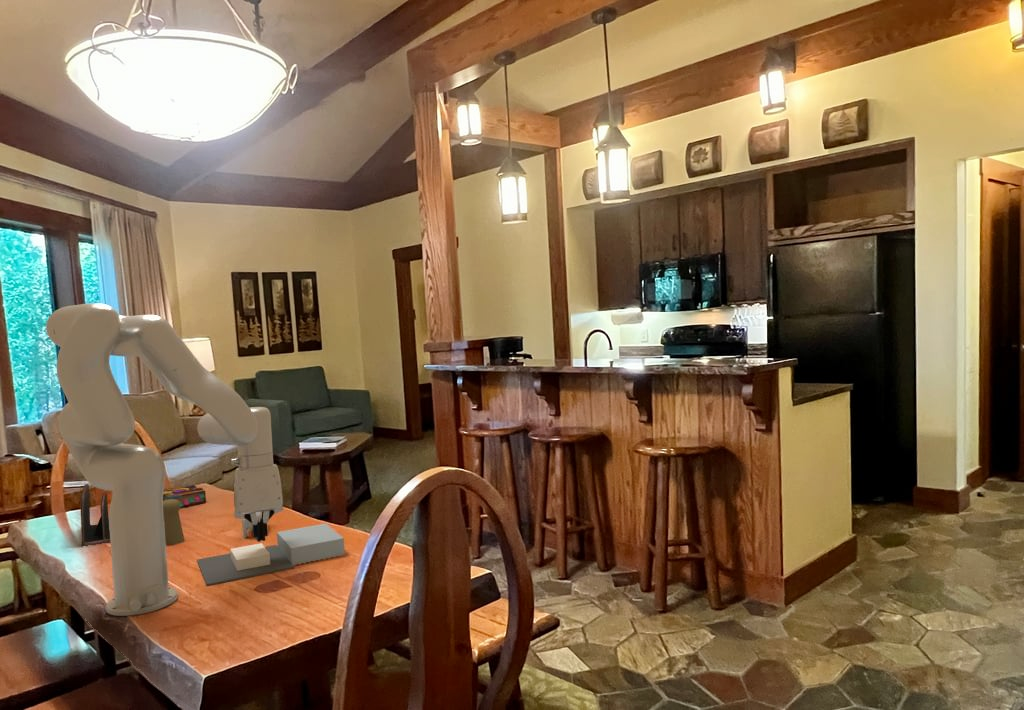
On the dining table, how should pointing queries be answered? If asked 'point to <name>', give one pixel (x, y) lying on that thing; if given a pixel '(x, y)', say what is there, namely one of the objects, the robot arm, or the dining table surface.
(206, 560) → the mat
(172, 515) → the olive green upright block
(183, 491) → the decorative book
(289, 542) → the block
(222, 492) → the dining table surface
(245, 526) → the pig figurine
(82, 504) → the letter holder
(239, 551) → the cream rounded box
